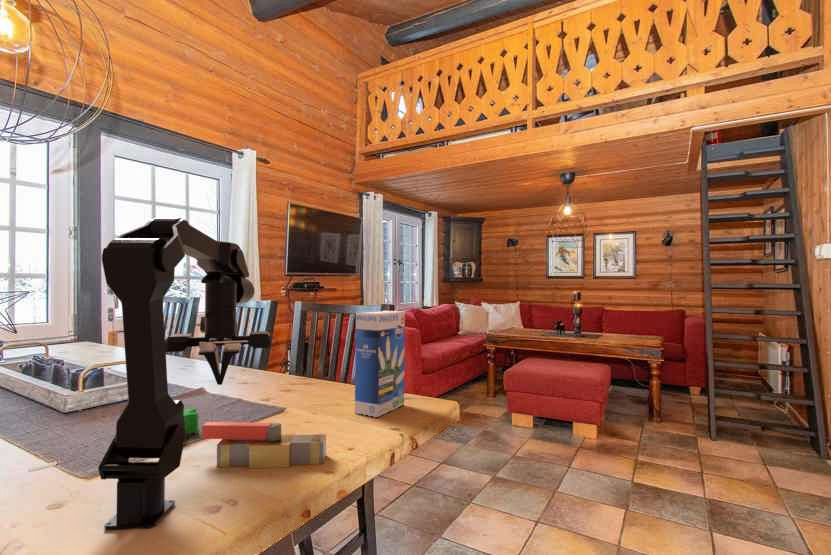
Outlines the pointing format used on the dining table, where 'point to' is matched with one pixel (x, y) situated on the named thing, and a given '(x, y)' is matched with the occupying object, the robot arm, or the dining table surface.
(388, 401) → the string lights box
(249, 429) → the lever
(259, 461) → the block
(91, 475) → the dining table surface
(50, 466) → the butter knife
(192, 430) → the pipe clamp
